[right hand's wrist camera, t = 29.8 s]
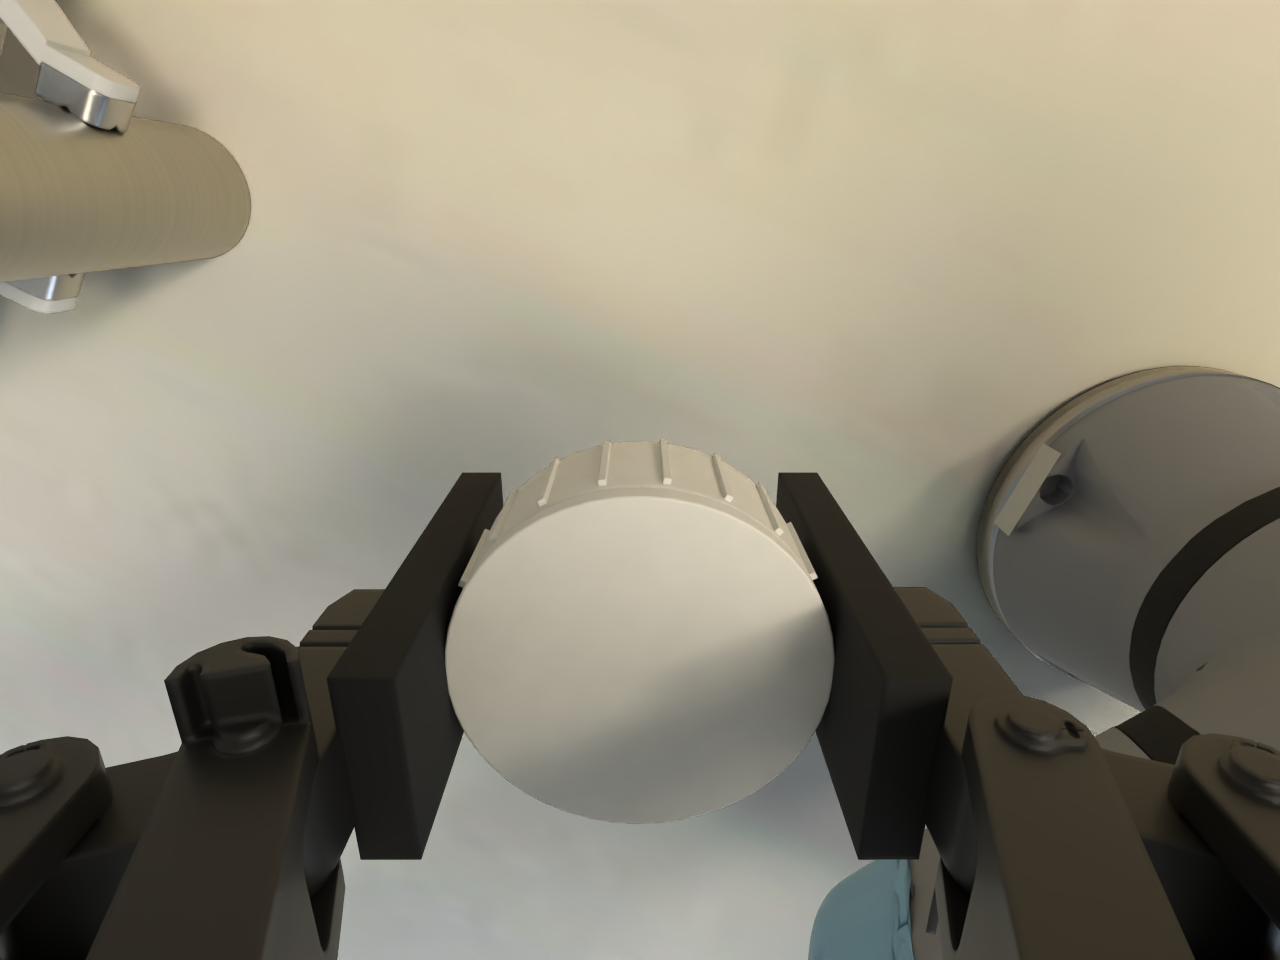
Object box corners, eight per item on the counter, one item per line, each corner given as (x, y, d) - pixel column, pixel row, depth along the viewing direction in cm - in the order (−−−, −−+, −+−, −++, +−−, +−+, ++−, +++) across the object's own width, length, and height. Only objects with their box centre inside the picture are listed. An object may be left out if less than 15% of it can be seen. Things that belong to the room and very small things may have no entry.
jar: (249, 271, 30) (-174, 338, 14) (126, 243, 29) (-446, 282, 14) (253, 141, 28) (-225, 59, 13) (121, 110, 28) (-537, -14, 12)
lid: (854, 489, 12) (904, 556, 9) (739, 752, 13) (758, 860, 11) (517, 393, 11) (487, 441, 9) (447, 683, 13) (408, 781, 11)
